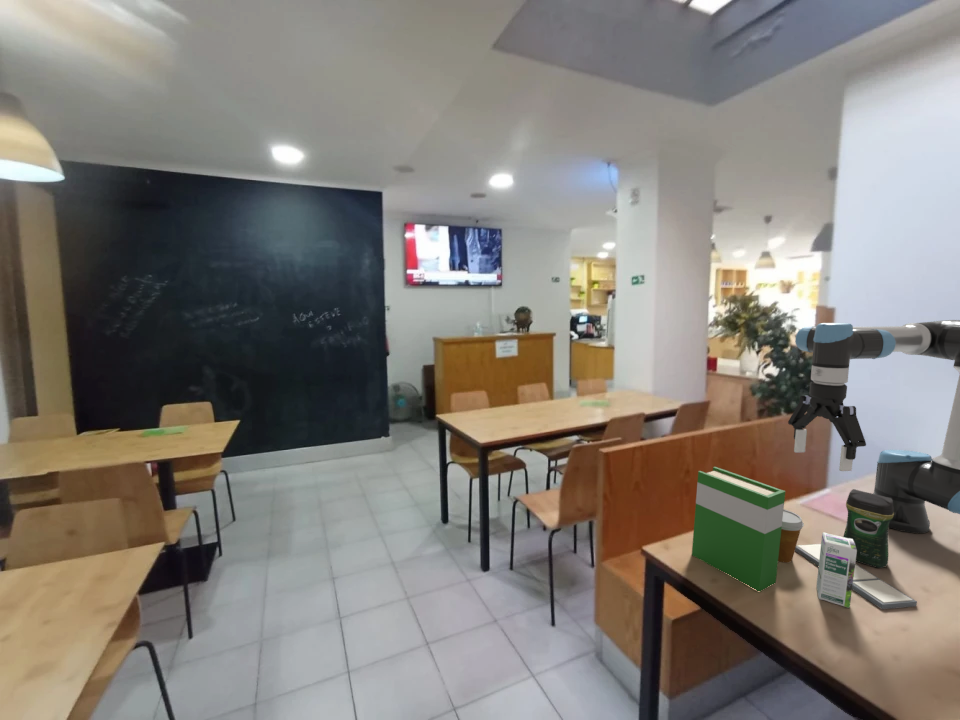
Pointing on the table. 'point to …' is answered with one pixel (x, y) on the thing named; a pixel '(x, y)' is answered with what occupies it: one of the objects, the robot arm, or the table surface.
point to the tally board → (865, 583)
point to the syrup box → (836, 569)
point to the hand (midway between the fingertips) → (821, 460)
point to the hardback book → (738, 526)
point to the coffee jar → (869, 526)
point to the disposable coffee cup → (789, 535)
